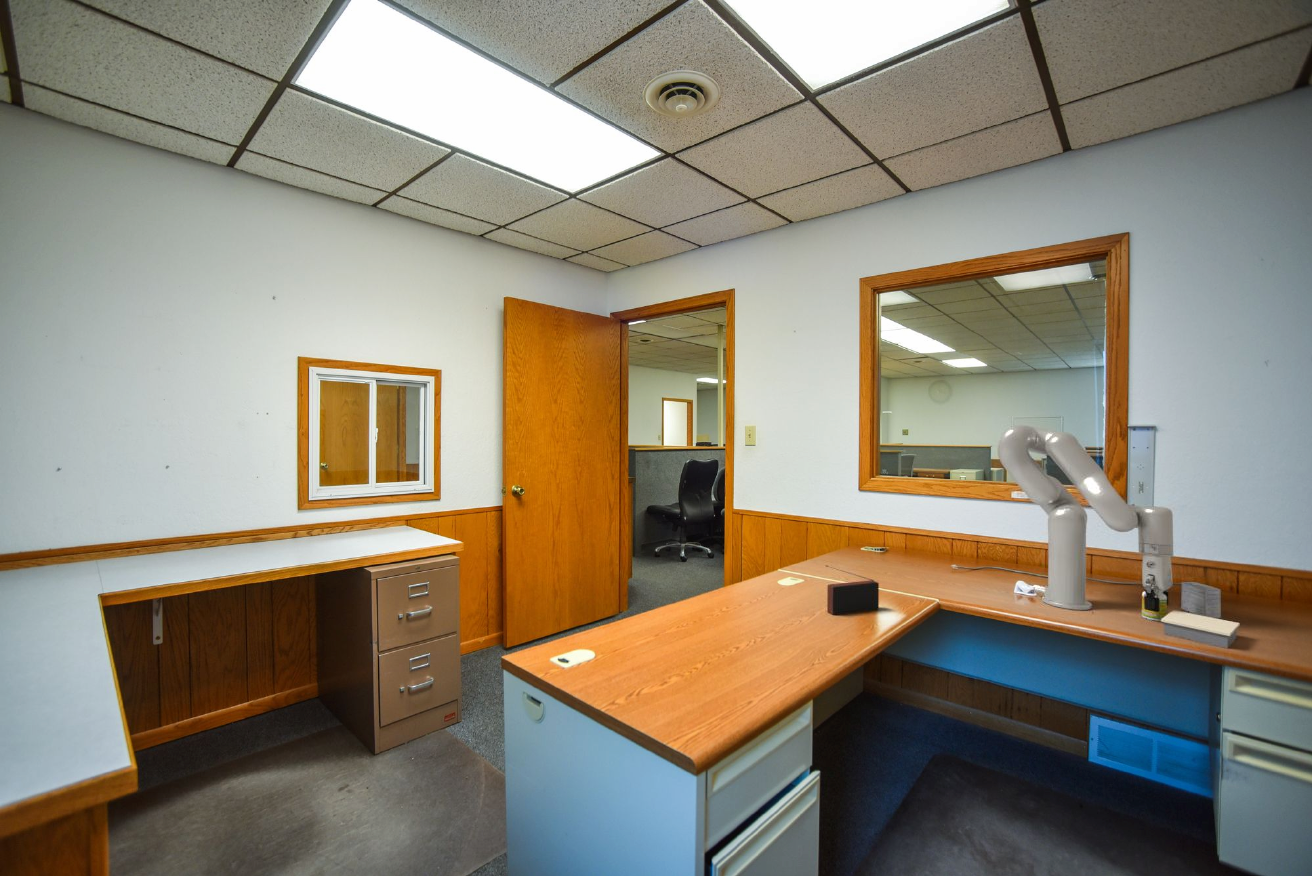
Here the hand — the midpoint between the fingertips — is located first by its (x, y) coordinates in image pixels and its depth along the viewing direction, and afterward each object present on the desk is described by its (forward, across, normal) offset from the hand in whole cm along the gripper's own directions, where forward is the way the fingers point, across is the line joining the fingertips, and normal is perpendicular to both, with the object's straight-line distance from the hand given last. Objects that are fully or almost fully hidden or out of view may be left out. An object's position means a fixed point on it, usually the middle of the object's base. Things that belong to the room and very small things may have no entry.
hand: (1156, 607), depth 160 cm
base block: (+4, -8, -10) cm, 14 cm away
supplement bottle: (+4, 0, +1) cm, 4 cm away
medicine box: (+4, +17, -6) cm, 18 cm away
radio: (+2, -67, +57) cm, 88 cm away
